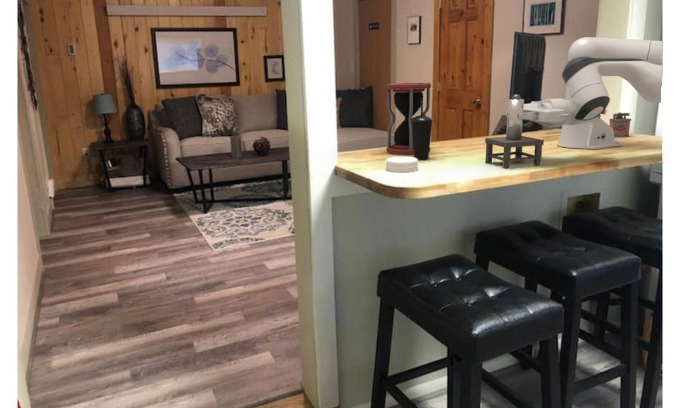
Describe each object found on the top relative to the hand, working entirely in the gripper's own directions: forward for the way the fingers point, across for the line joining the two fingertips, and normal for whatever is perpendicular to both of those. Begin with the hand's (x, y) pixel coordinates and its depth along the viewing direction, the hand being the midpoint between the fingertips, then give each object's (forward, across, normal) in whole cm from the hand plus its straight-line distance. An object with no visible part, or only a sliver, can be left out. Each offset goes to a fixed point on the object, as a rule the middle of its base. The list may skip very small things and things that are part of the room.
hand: (512, 115), depth 162 cm
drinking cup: (+21, +21, -16) cm, 34 cm away
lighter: (-73, +33, -16) cm, 82 cm away
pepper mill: (-1, 0, -7) cm, 7 cm away
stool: (-1, 0, -16) cm, 16 cm away
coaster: (+34, +7, -16) cm, 38 cm away
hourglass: (+19, +37, -16) cm, 45 cm away
